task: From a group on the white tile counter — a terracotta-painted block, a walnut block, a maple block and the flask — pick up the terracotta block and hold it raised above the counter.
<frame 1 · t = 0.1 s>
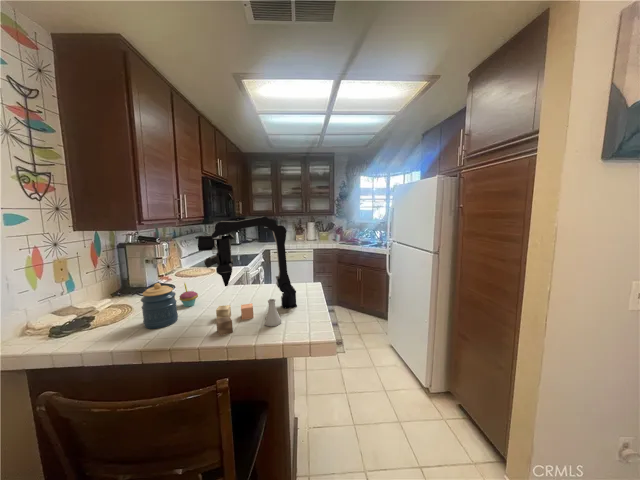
hand: (226, 283, 121), 15 cm above the counter, fingers open, 9 cm apart
cupcake: (189, 305, 136), on the counter
flask: (273, 323, 111), on the counter
canister: (161, 323, 116), on the counter
walnut block: (224, 331, 105), on the counter
terracotta block: (247, 316, 119), on the counter
maple block: (224, 318, 118), on the counter
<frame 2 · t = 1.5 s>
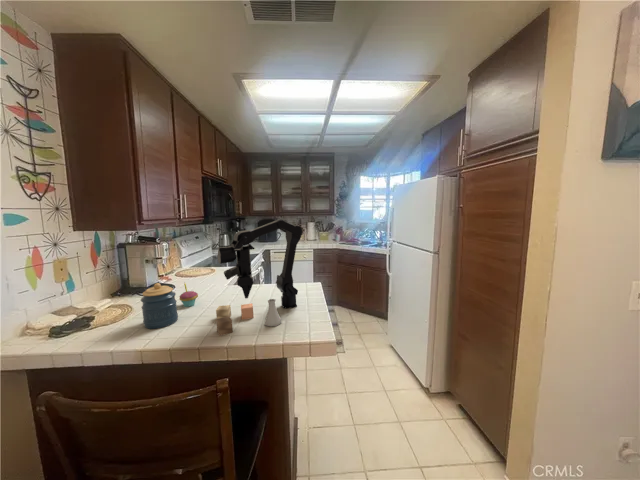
hand: (246, 294, 118), 10 cm above the counter, fingers open, 9 cm apart
nothing on the counter moved.
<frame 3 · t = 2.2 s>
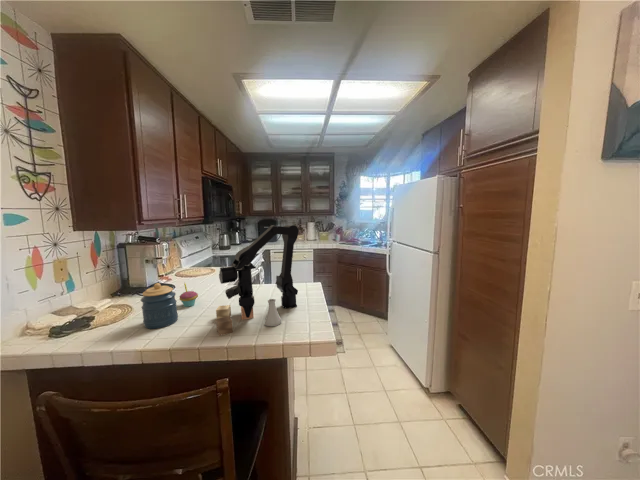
hand: (247, 313, 119), 1 cm above the counter, fingers open, 9 cm apart
nothing on the counter moved.
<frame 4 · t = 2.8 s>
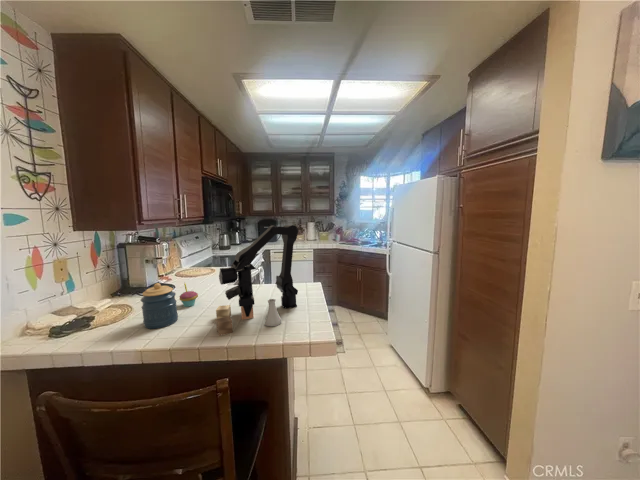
hand: (247, 314, 119), 1 cm above the counter, fingers closed on terracotta block, 5 cm apart
terracotta block: (247, 316, 119), on the counter, touching gripper
everything else where it was.
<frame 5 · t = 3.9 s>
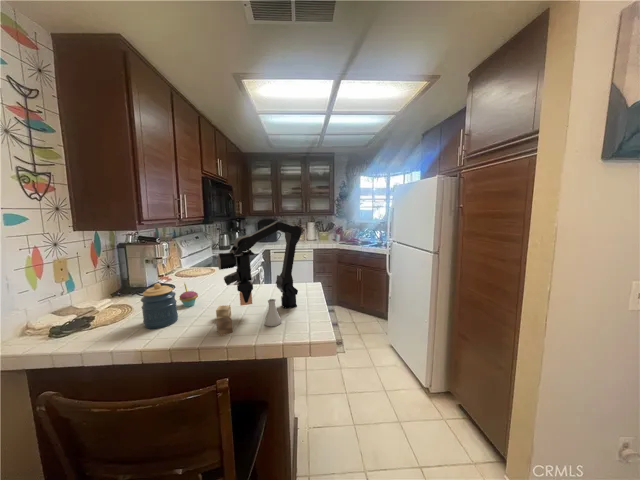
hand: (246, 300, 118), 7 cm above the counter, fingers closed on terracotta block, 5 cm apart
terracotta block: (246, 302, 118), point 6 cm above the counter, touching gripper
everything else where it was.
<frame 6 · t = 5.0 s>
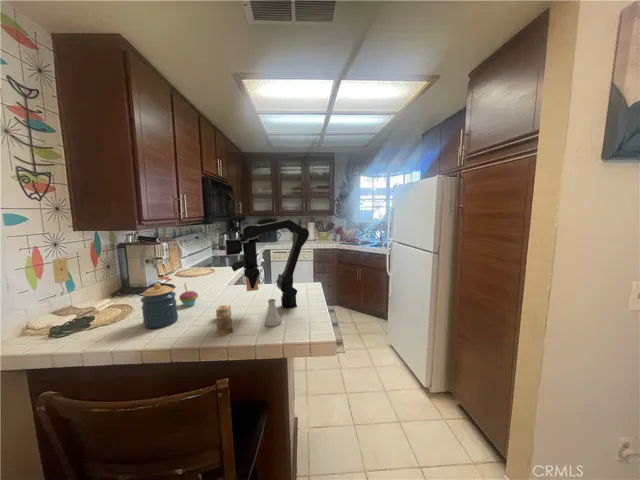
hand: (252, 286, 121), 12 cm above the counter, fingers closed on terracotta block, 5 cm apart
terracotta block: (252, 289, 121), point 11 cm above the counter, touching gripper
everything else where it was.
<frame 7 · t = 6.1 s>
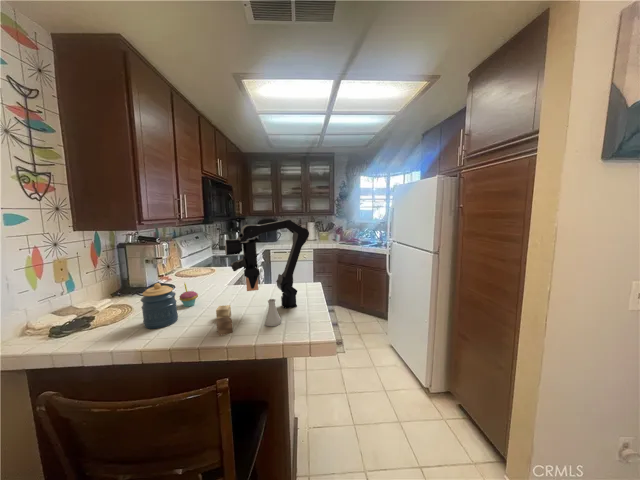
hand: (252, 286, 121), 12 cm above the counter, fingers closed on terracotta block, 5 cm apart
terracotta block: (252, 289, 121), point 11 cm above the counter, touching gripper
everything else where it was.
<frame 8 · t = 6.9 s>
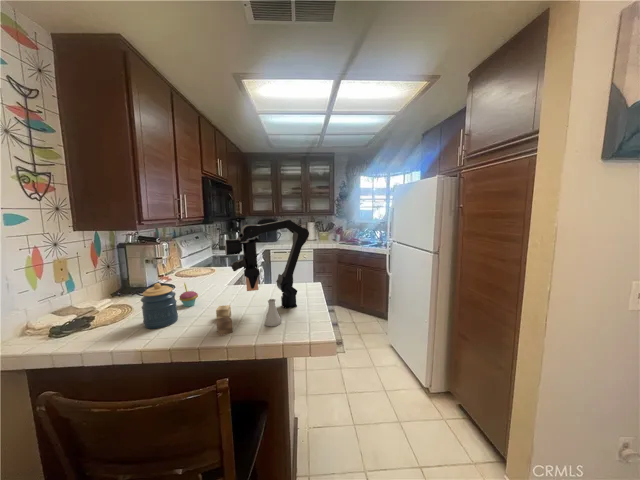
hand: (252, 286, 121), 12 cm above the counter, fingers closed on terracotta block, 5 cm apart
terracotta block: (252, 289, 121), point 11 cm above the counter, touching gripper
everything else where it was.
at the end: the gripper is holding terracotta block; terracotta block point 11.4 cm above the counter; flask moved 0.3 cm from its start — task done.
